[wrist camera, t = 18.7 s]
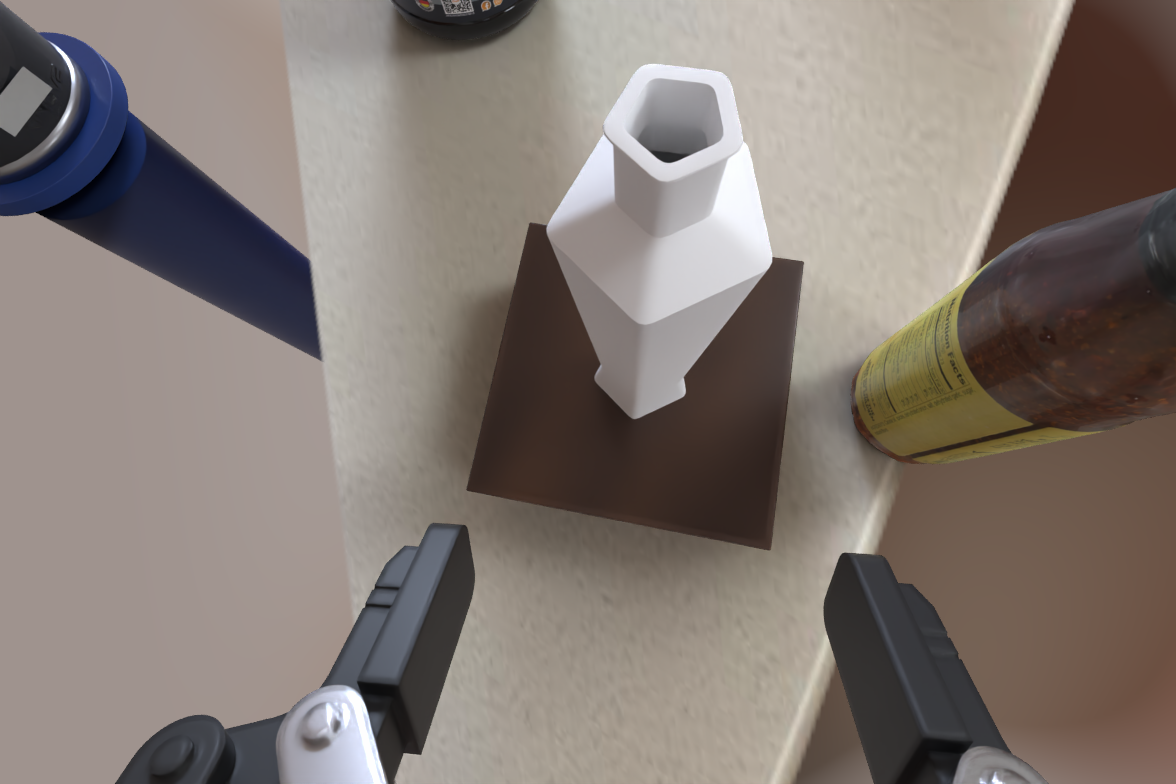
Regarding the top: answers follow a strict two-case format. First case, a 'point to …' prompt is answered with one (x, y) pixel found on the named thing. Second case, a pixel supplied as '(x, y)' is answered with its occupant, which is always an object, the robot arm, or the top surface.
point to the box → (652, 442)
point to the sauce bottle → (1034, 344)
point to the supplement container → (462, 16)
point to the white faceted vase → (661, 232)
